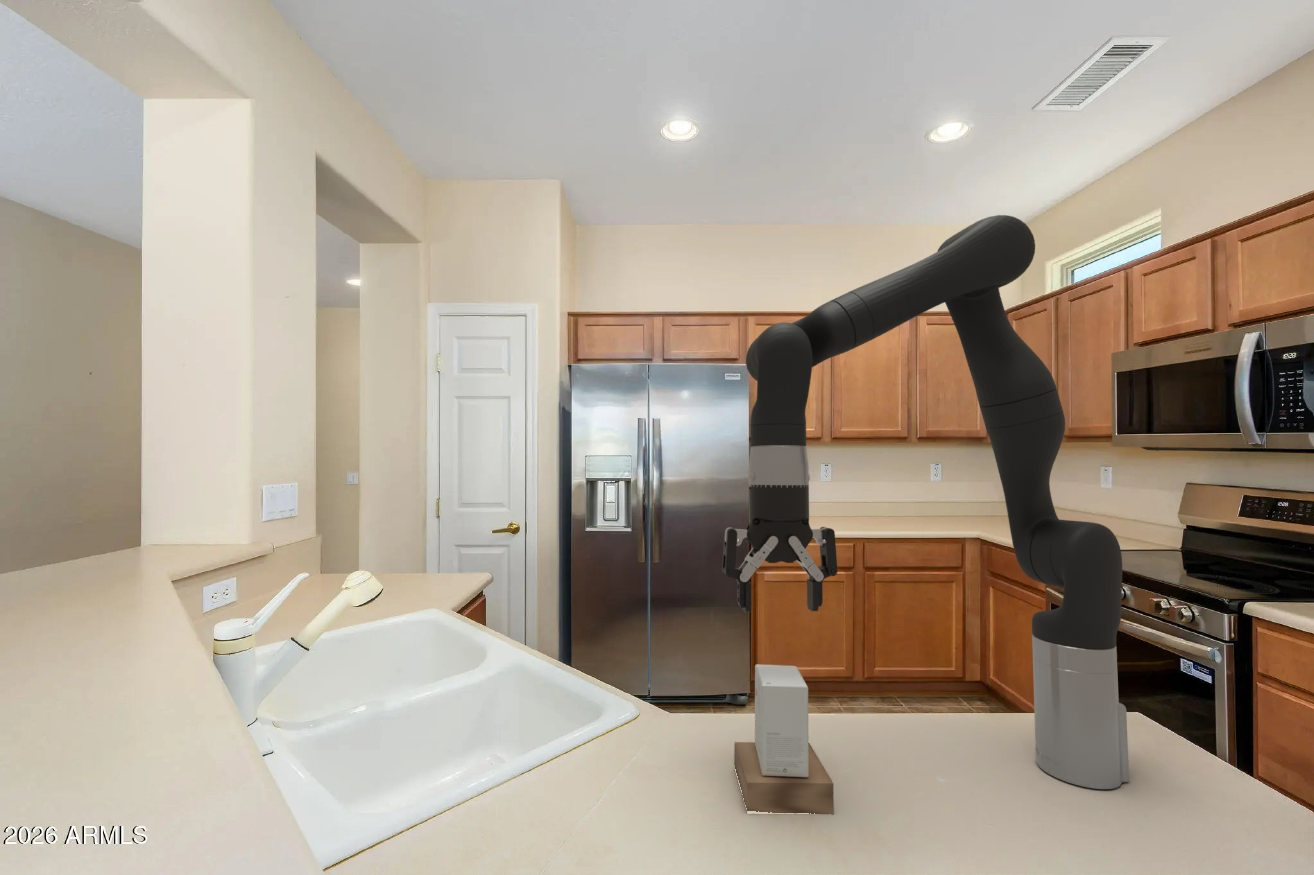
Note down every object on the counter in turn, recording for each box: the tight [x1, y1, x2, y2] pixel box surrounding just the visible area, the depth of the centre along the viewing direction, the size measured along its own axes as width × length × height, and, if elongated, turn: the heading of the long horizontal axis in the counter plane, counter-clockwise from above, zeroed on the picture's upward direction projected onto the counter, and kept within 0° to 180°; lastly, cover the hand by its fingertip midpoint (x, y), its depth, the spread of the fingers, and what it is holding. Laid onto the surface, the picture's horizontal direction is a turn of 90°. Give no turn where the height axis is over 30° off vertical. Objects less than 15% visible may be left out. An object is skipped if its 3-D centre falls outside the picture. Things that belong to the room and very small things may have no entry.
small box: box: [754, 663, 809, 777], centre depth 71 cm, size 8×6×10 cm
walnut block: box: [733, 741, 835, 816], centre depth 71 cm, size 10×10×4 cm
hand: (779, 610), depth 72 cm, fingers open, 8 cm apart
